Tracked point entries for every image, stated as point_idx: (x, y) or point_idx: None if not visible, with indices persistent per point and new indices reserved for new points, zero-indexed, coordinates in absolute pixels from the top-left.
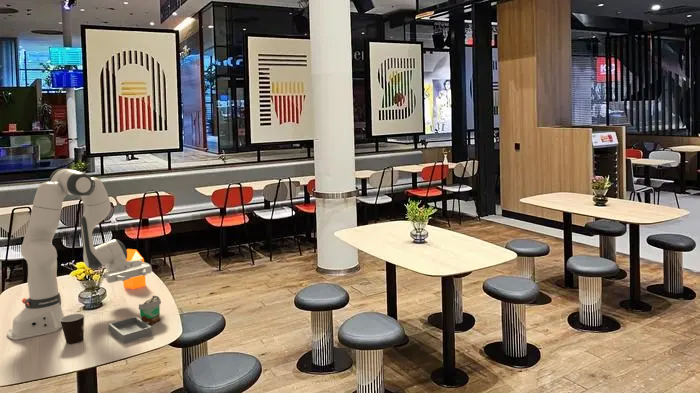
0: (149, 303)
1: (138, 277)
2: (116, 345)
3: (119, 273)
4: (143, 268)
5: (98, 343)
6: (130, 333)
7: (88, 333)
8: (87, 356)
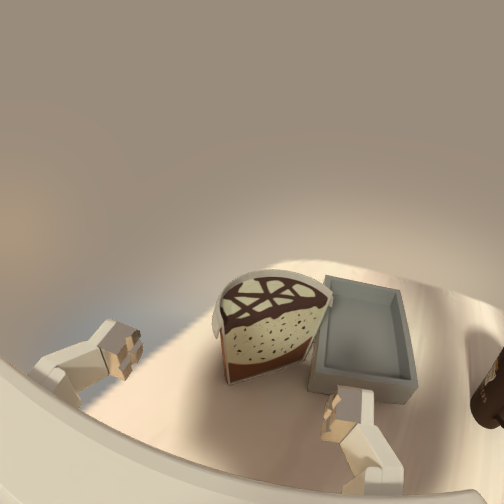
0: (297, 273)
1: None
2: (407, 314)
3: (365, 495)
4: (30, 380)
5: (441, 352)
6: (382, 287)
7: (455, 438)
8: (461, 315)
